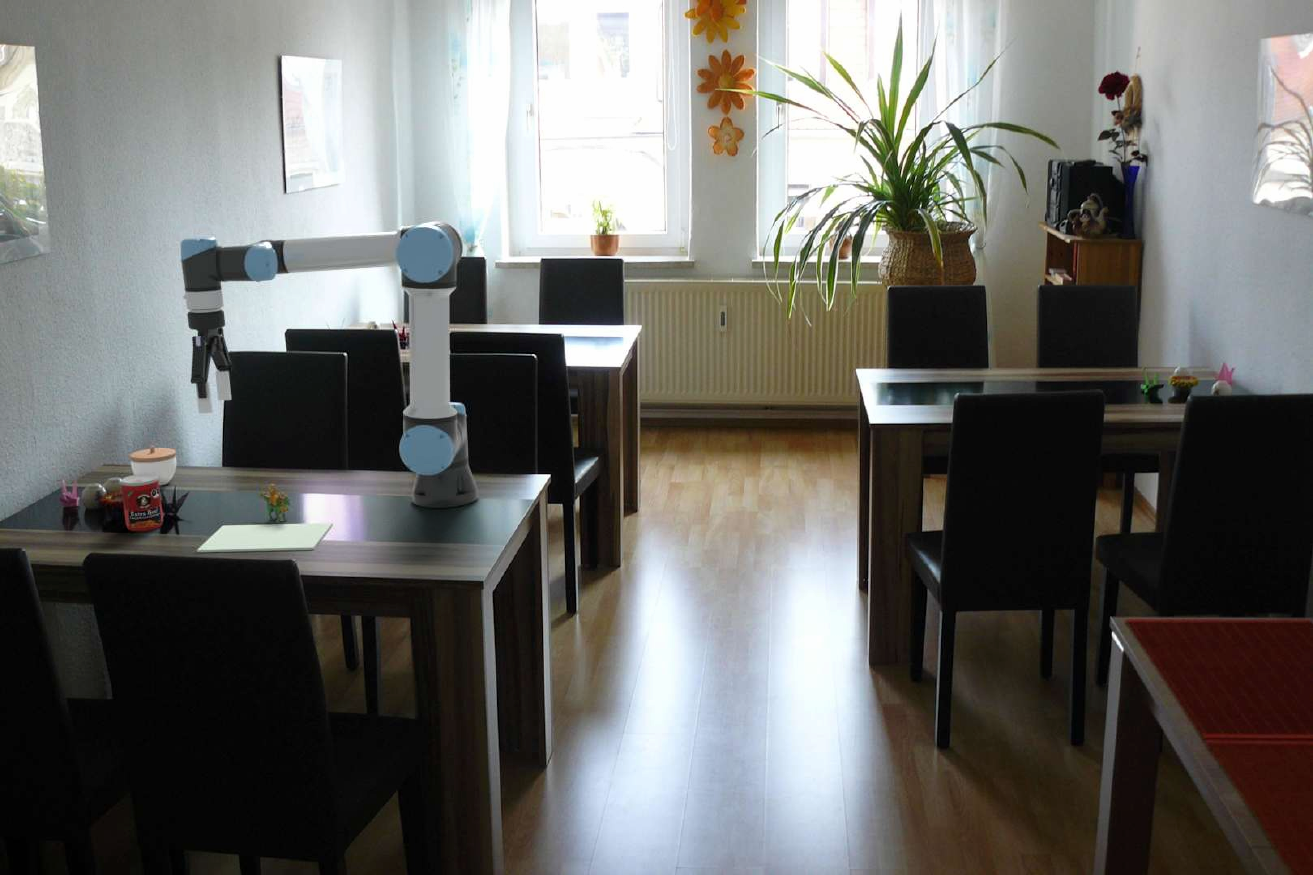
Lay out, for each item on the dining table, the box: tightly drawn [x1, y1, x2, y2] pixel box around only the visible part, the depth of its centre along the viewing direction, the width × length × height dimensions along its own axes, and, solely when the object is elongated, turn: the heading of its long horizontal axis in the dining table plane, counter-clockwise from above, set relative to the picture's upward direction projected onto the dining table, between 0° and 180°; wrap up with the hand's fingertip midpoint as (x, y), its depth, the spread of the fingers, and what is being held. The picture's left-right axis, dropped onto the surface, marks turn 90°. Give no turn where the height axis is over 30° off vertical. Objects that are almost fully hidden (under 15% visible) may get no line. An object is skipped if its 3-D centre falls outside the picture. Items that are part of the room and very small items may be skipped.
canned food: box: [120, 474, 164, 532], centre depth 282 cm, size 8×8×11 cm
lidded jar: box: [129, 445, 177, 487], centre depth 318 cm, size 11×11×9 cm
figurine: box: [258, 483, 292, 524], centre depth 286 cm, size 3×12×8 cm, turn 50°
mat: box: [196, 522, 334, 553], centre depth 273 cm, size 24×17×1 cm
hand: (215, 406), depth 282 cm, fingers open, 13 cm apart
